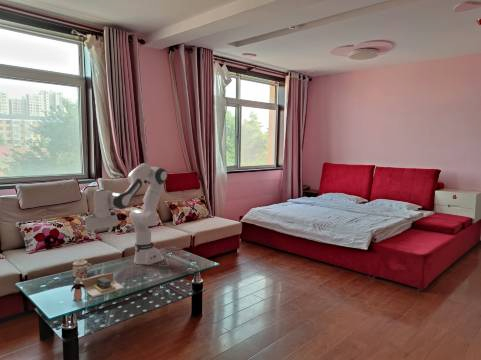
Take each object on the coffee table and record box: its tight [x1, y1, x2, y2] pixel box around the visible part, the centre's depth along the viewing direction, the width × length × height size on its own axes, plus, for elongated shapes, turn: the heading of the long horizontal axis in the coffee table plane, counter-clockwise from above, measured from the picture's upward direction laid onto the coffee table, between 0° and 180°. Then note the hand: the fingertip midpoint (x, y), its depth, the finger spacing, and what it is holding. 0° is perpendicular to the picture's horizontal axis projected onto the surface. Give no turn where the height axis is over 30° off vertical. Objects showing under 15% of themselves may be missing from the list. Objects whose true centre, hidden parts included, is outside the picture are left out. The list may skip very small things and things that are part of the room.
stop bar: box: [97, 277, 111, 290], centre depth 206 cm, size 8×4×5 cm, turn 52°
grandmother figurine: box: [70, 277, 86, 302], centre depth 191 cm, size 8×4×13 cm, turn 126°
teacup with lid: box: [72, 258, 93, 278], centre depth 227 cm, size 12×9×12 cm
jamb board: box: [73, 272, 125, 298], centre depth 211 cm, size 19×29×6 cm, turn 45°
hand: (102, 234), depth 223 cm, fingers open, 8 cm apart
